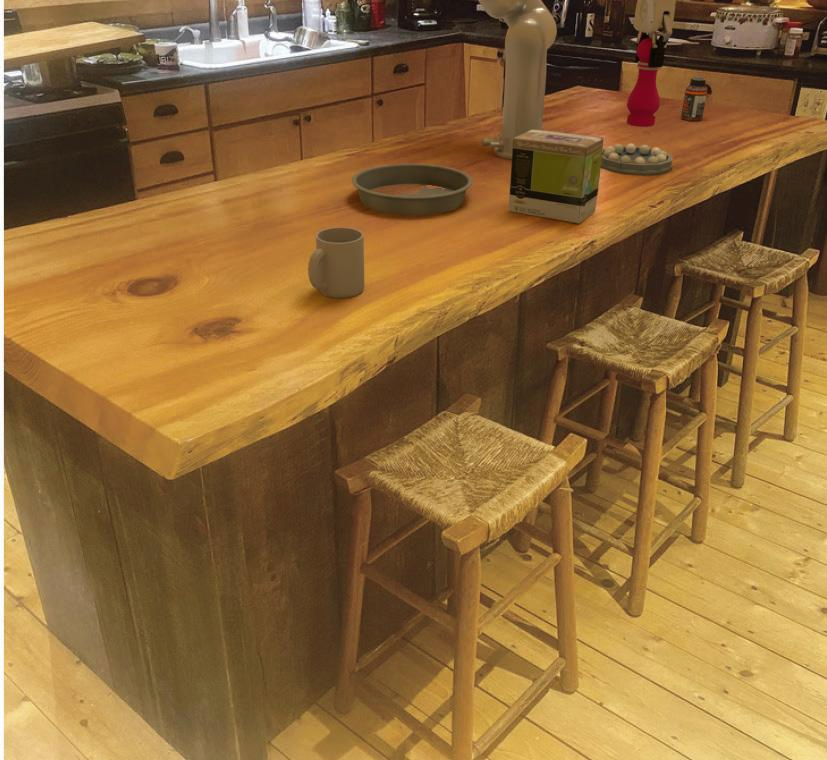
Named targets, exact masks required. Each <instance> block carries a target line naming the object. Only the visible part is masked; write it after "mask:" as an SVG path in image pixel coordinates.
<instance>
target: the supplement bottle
mask: <svg viewBox="0 0 827 760" xmlns="http://www.w3.org/2000/svg"><path fill="white" fill-rule="evenodd" d="M707 94H708V87H707V86H706V78H705V77H699V76H696V77H695V76H694V77H690V82H689V84H688V85H687V86H686V87H685V91H684V97H683V104H682V109H681V115H680V118H681V119H682V120H683V121H686V122H701V121H702V120H703V115H704V112H705V111H704V110H705V107H706V101H707Z"/></svg>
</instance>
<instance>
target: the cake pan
mask: <svg viewBox="0 0 827 760" xmlns="http://www.w3.org/2000/svg"><path fill="white" fill-rule="evenodd" d="M351 183H352V185H353V187H355V188H356V189H357V191H358V192H357V193H358V195H359V198H360V202H361V204H362V205H363V206H365V207H366V208H368V209H370V210H373V211H376V212H380V213H382V214H384V213H385V214H389V215H390V214H391V215H395V216H396V215H397V216H398V215H399V216H415V217H417V216H430V215H438V214H443V213H447V212H451V211H453V210H455V209H457V208H459V207H461V206H462V205H463V204H464V200H465V196H466V193H467V191H468V190H469V189H470V187H471V186H472V185H473V178H472V177H471V176H470V175H469V174H468V173H466V172H465V171H462V170H460V169H456V168H452V167H449V166H443V165H438V164H437V165H436V164H426V163H398V164H397V163H395V164H385V165H378V166H373V167H369V168H365V169H363V170H361V171H359V172H357V173H356V174H354V175H353V177H352V179H351ZM414 184H418V185H419V186H423V187H424V186H425V185H432V186H437V187H442V188H445V189H444V190H442V188H434V189H429V188H427V187H424V188H422V187H421V188H420V187H419V188H418V189H421V190H417V189H413V190H411V191H408V192H403V193H400V194H389V193H384V192H377V191H374V190H375V189H381V188H384V187H391V186H392V187H393V186H402V185H414ZM418 185H417V186H418ZM414 190H415V191H416V190H417V191H420V192H415V193H419V194H408V193H410V192H412V191H414ZM442 191H443V192H442ZM422 194H423V195H422Z"/></svg>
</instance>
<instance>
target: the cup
mask: <svg viewBox="0 0 827 760" xmlns="http://www.w3.org/2000/svg"><path fill="white" fill-rule="evenodd" d="M315 244H316V246H315V247H316V249H315V250H314V251H312V253H311V255H310V257H309V261H308V265H307V266H308V267H307V273H308V274H307V275H308V279H309V282H310V284H311V286H312V287H313V288H314V289H315V290H317V291H319V293H321V294H322V295H324V296H325V297H327V298H328V297H329V298H333V299H347V298H352V297H356V296H358V295H360V294H361V293H362V292H363V291H364V289H365V247H364V246H365V245H364V244H365V242H364V232H363V231H361V230H359V229H357V228H352V227H345V226H343V227H337V226H336V227H330V228H326V229H321V230H319V231H318V232H316V234H315Z"/></svg>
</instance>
